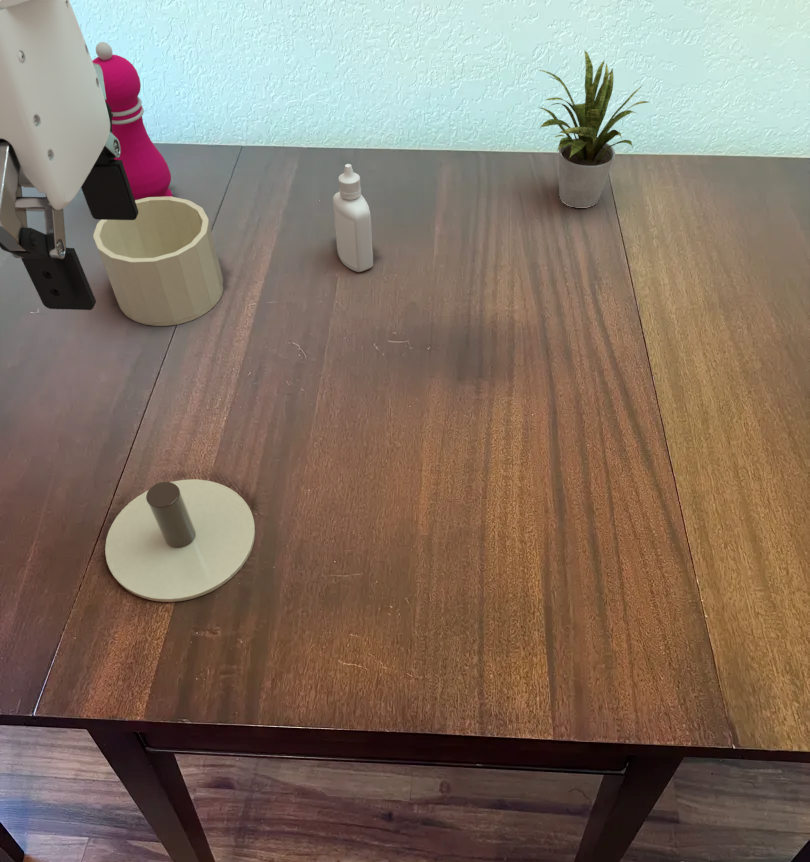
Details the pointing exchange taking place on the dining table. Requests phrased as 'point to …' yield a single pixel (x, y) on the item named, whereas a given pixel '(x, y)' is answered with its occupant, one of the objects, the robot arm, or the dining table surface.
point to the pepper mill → (132, 127)
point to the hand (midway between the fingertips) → (95, 259)
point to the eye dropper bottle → (352, 223)
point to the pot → (161, 261)
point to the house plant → (587, 140)
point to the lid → (180, 540)
